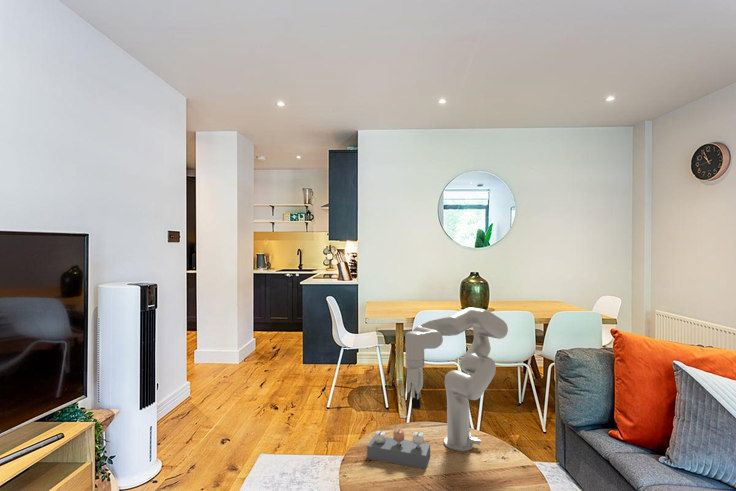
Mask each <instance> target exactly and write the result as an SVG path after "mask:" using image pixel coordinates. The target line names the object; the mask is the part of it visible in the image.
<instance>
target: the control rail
mask: <svg viewBox="0 0 736 491" xmlns="http://www.w3.org/2000/svg"><path fill="white" fill-rule="evenodd" d="M366 453H367V454H366V459H367V460H374V461H380V462H383V463H384V462H385V463H391V464H397V465H401V466H409V467H413V468H418V469H424V470H425V469H427V467H428V464H429V461H430V458H431V443H427V442H424V443H423V444H420V449H417V444H414V443H413V440H407V439H404V440H403V441H400V446H397V441H395V440H394V439H393V437H388V436H385V442H384V443H376V442H375V434H374V435H373V436H372V439H371V440H370V441H369V442H368V444H367V445H366Z"/></svg>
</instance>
